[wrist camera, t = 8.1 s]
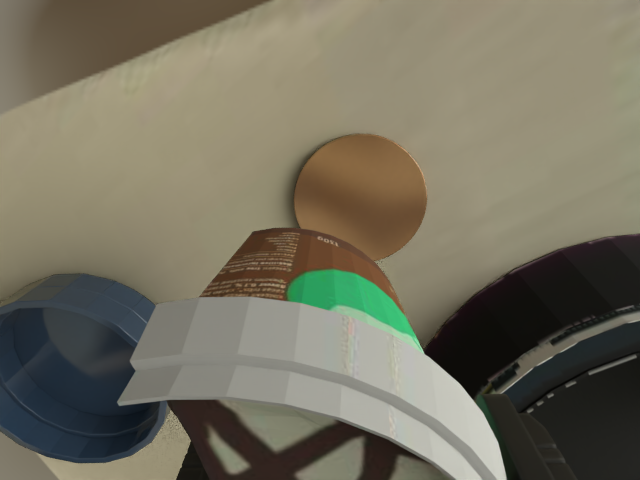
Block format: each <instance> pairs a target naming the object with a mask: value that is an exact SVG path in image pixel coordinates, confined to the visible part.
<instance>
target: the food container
mask: <svg viewBox="0 0 640 480" xmlns="http://www.w3.org/2000/svg"><path fill="white" fill-rule="evenodd" d="M130 363H131V364H132V366H133V368H134V369H135V373H134V375H133V376H132V378H131V380H130V381H129V383H128V385H127V386H126V388H125V390H124V391H123V393H122V395H121V396H120V398H119V400H118V401H117V403H118V404H119V406H122V405H131V404H139V403H147V402H156V401H164V400H166V401H167V404H168V406H169V408H170V409H171V410H172V411H173V413H174V414H175V415H176V416H177V418H178V419H179V421H180V422H181V424H182V426H183V427H184V429H185V431H186V432H187V434H188V436H189V438H190V440H191V442H192V444H193V446H194V448H195V450H196V452H197V454H198V456H199V458H200V460H201V463H202V465H203V467H204V469H205V471H206V473H207V475H208V477H209V479H210V480H507V477H506V472H505V468H504V464H503V460H502V456H501V452H500V448H499V444H498V441H497V439H496V437H495V435H494V433H493V431H492V430H491V428H490V426H489V424H488V422H487V420H486V418H485V416H484V414H483V412H482V411H481V410H480V408H479V407H478V406H477V405H476V403H475V402H474V401H473V400H472V398H471V397H470V396H469V395H468V393H467V392H466V391H465V389H464V388H463V387H462V386H461V384H459V383H458V382H457V381H456V380H455V379H454V378H453V377H451V376H450V375H449V374H448V373H447V372H446V371H445V370H443V369H442V368H441V367H440V366H439V365H438V364H437V363H435V362H434V361H433V360H432V359H431V358H430V357H428V356H426V355H425V354H424V352H423V350H422V348H421V346H420V344H419V342H418V339H417V337H416V335H415V333H414V331H413V329H412V327H411V325H410V323H409V321H408V318H407V316H406V314H405V312H404V310H403V308H402V306H401V304H400V302H399V300H398V297H397V295H396V293H395V291H394V289H393V287H392V286H391V284H390V282H389V280H388V278H387V276H386V275H385V274H384V273H383V271H382V270H381V269H380V268H379V266H378V265H377V264H376V263H375V262H374V261H373V260H372V259H370V258H369V257H368V256H367V255H366V254H365V253H364V252H362V251H361V250H359V249H357V248H356V247H354V246H353V245H351V244H350V243H348V242H346V241H343V240H341V239H339V238H337V237H334V236H332V235H329V234H325V233H322V232H318V231H314V230H308V229H300V228H271V229H266V230H260V231H254V232H252V234H251V235H250V236H249V237H248V238H247V240H246V241H245V242H244V243H243V244H242V246H241V247H240V248H239V249H238V250H237V252H236V253H235V254H234V255H233V256H232V258H231V259H230V260H229V261H228V262H227V264H226V265H225V266H224V267H223V268H222V270H221V271H220V272H219V273H218V274H217V276H216V277H215V278H214V279H213V280H212V282H211V283H210V284H209V285H208V286H207V288H206V289H205V290H204V291H203V292H202V294H201V295H200V296H199V297H198V298H192V299H185V300H178V301H171V302H165V303H158V304H157V305H156V307H155V309H154V311H153V313H152V315H151V317H150V319H149V321H148V324H147V326H146V328H145V330H144V332H143V334H142V336H141V338H140V340H139V342H138V344H137V347H136V349H135V351H134V353H133V355H132V357H131V359H130Z"/></svg>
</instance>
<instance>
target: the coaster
mask: <svg viewBox="0 0 640 480" xmlns="http://www.w3.org/2000/svg"><path fill="white" fill-rule="evenodd" d="M426 204H427V189H426V183H425V180H424V176H423V174H422V172H421V169H420V167H419V166H418V164H417V163H416V161H415V160H414V158H413V157H412V156H411V155H410V154H409V153H408V152H407V151H406V150H405V149H403V148H402V147H401V146H400V145H398V144H397V143H395V142H393V141H391V140H389V139H387V138H384V137H381V136H377V135H372V134H352V135H347V136H343V137H339V138H337V139H334V140H332V141H330V142H328V143H327V144H325V145H323V146H322V147H321V148H319V149H318V150H317V151H316V152H315V153H314V154H313V155H312V156H311V157H310V158H309V159H308V161H307V162H306V163H305V165H304V166H303V168H302V170H301V172H300V174H299V177H298V179H297V182H296V186H295V191H294V210H295V215H296V219H297V222H298V224H299V226H300V229H308V230H314V231H318V232H322V233H325V234H329V235H332V236H334V237H337V238H339V239H341V240H343V241H346V242H348V243H350V244H351V245H353V246H354V247H356V248H357V249H359V250H361V251H362V252H364V253H365V254H366V255H367V256H368V257H369V258H370V259H372V260H373V261H377V260H380V259H383V258H386V257H388V256H390V255H392V254H393V253H395V252H397V251H398V250H400V249H401V248H402V247H403V246H405V245H406V244H407V243H408V242H409V241H410V240H411V238H412V237H413V236H414V234H415V233H416V232H417V230H418V228H419V227H420V225H421V223H422V220H423V217H424V214H425V210H426Z"/></svg>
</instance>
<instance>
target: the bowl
mask: <svg viewBox="0 0 640 480" xmlns="http://www.w3.org/2000/svg"><path fill="white" fill-rule="evenodd" d="M155 307H156V306H155V305H154V304H153V303H152V302H151V301H150V300H148V299H147V298H146V297H145V296H143V295H141V294H140V293H138V292H137V291H135V290H133V289H131V288H129V287H127V286H125V285H123V284H121V283H118V282H115V281H113V280H109V279H105V278H101V277H96V276H92V275H88V274H58V275H52V276H49V277H47V278H44V279H41V280H39V281H36V282H33V283H31V284H29V285H27V286H26V287H24V288H22V289H21V290H19V291H18V292H16V293H15V294H13V295H12V296H10V297H9V298H7V299H6V300H4V301H3V302H1V303H0V431H1V432H2V433H3V434H5V435H6V436H8V437H9V438H10V439H12V440H13V441H15V442H16V443H18V444H19V445H21V446H23V447H25V448H28V449H30V450H32V451H35V452H37V453H39V454H42V455H44V456H46V457H50V458H55V459H60V460H64V461H69V462H74V463H106V462H111V461H114V460H118V459H121V458H125V457H128V456H131V455H133V454H135V453H136V452H138V451H139V450H140V449H142V448H143V447H145V446H146V445H148V444H149V443H151V442H152V441H153V439H154V438H155V436H156V435H157V433H158V432H159V430H160V428H161V427H162V425H163V424H164V422H165V420H166V418H167V416H168V414H169V412H170V410H171V409H170V408H169V406H168V404H167V401H166V400H164V401H156V402H147V403H139V404H131V405H122V406H119V404H118V403H117V401H118V400H119V398H120V396H121V395H122V393H123V391H124V390H125V388H126V386H127V385H128V383H129V381H130V380H131V378H132V376H133V375H134V373H135V369H134V368H133V366H132V364H131V363H130V359H131V357H132V355H133V353H134V351H135V349H136V347H137V344H138V342H139V340H140V338H141V336H142V334H143V332H144V330H145V328H146V326H147V324H148V321H149V319H150V317H151V315H152V313H153V311H154V309H155Z"/></svg>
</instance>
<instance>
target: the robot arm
mask: <svg viewBox="0 0 640 480" xmlns="http://www.w3.org/2000/svg"><path fill="white" fill-rule="evenodd" d="M476 405H477V406H478V407H479V408H480V410H481V411H482V412H483V414H484V416H485V418H486V420H487V422H488V424H489V426H490V428H491V430H492V431H493V433H494V435H495V437H496V439H497V441H498V444H499V448H500V452H501V456H502V460H503V464H504V468H505V472H506V477H507V480H577V478H576V476H575V475H574V473H573V472H572V470H571V468H570V467H569V465H568V464H566V462H565V459H564V457H563V455H562V454H561V452H560V451H559V449H557V447H556V444H555V442H554V441H553V439H552V438H551V436H550V434H549V433H548V431H547V430H546V428H545V427H544V426H543V425H542V424H541V423H539V422H538V421H537V420H536V419H535V418H534V417H533V416H531V415H530V414H529V413H517V411H516V409H515V407H514V405H513V404H512V402H511V400H510V398H509V397H508V396H507V395H506V394H478V395H477V398H476ZM176 480H210V479H209V477H208V475H207V473H206V471H205V469H204V467H203V465H202V463H201V460H200V458H199V456H198V454H197V452H196V450H195V448H194V446H193V444H192V442H191V443H190V445H189V448H188V453H187V454H186V456H185V458H184V461H183V463H182V468H180V471H179V474H178V476H177V479H176Z"/></svg>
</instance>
